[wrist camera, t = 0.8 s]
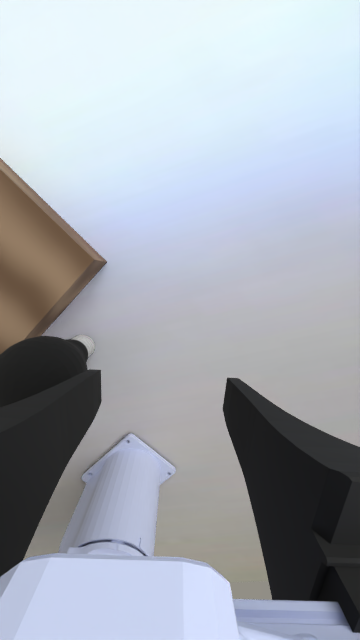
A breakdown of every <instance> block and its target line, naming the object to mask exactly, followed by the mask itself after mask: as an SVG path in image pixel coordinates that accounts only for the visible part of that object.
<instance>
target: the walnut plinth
mask: <svg viewBox="0 0 360 640" xmlns="http://www.w3.org/2000/svg"><path fill="white" fill-rule="evenodd" d="M106 263H107V261H106V260H105V259H103V258H102V257H101V256H100V255H99V254H98V253H97V252H96V251H95V250H94V249H93V248H92V247H91V246H90V245H89V244H88V243H87V242H86V241H85V240H84V239H83V238H82V237H81V236H80V235H79V234H78V233H77V232H76V231H75V230H74V229H73V228H72V227H71V226H70V225H69V224H67V223H66V222H65V221H64V220H63V219H62V218H61V217H60V216H59V215H58V214H57V213H56V212H55V211H54V210H53V209H52V208H51V207H50V206H49V205H48V204H47V203H46V202H45V201H44V200H43V199H42V198H41V197H40V196H39V195H38V194H37V193H36V192H35V191H34V190H33V189H31V188H30V187H29V186H28V185H27V184H26V183H25V182H24V181H23V180H22V179H21V178H20V177H19V176H18V175H17V174H16V173H15V172H14V171H13V170H12V169H11V168H10V167H9V166H8V165H7V164H6V163H5V162H4V161H3V160H2V159H1V158H0V354H2V353H3V352H4V351H5V350H6V349H8V348H9V347H10V346H12V345H14V344H16V343H18V342H20V341H22V340H25V339H29V338H33V337H38V336H41V335H42V334H43V333H44V332H45V331H46V329H47V328H48V327H49V326H50V325H51V324H52V323H53V322H54V321H55V319H56V318H57V317H58V316H59V315H60V314H61V313H62V312H63V310H64V309H65V308H66V307H67V306H68V305H69V304H70V303H71V302H72V300H73V299H74V298H75V297H76V296H77V295H78V294H79V293H80V292H81V290H82V289H83V288H84V287H85V286H86V285H87V284H88V283H89V282H90V280H91V279H92V278H93V277H94V276H95V275H96V274H97V273H98V272H99V270H100V269H101V268H102V267H103V266H104V265H105V264H106Z"/></svg>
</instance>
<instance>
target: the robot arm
mask: <svg viewBox="0 0 360 640" xmlns="http://www.w3.org/2000/svg"><path fill="white" fill-rule="evenodd" d="M100 404H101V370H87V371H85V372H82V373H80V374H78V375H76V376H74V377H72V378H70V379H68V380H66V381H64V382H62V383H60V384H58V385H55V386H53V387H51V388H49V389H47V390H44V391H42V392H40V393H38V394H35V395H33V396H30V397H28V398H25V399H23V400H20V401H17V402H15V403H12V404H9V405H6V406H3V407H0V640H360V447H358V446H355V445H353V444H350V443H348V442H345V441H343V440H341V439H338V438H336V437H334V436H331V435H329V434H327V433H325V432H323V431H321V430H319V429H317V428H315V427H312V426H311V425H309V424H307V423H305V422H303V421H301V420H299V419H298V418H296V417H294V416H292V415H290V414H289V413H287V412H285V411H284V410H282V409H281V408H279V407H278V406H276V405H275V404H273V403H272V402H270V401H269V400H267V399H266V398H264V397H263V396H262V395H260V394H259V393H258V392H256V391H255V390H254V389H252V388H251V387H250V386H248V385H247V384H245V383H244V382H243V381H241V380H240V379H238V378H227V383H226V390H225V397H224V404H223V412H224V417H225V421H226V426H227V429H228V432H229V435H230V437H231V440H232V443H233V446H234V449H235V451H236V454H237V457H238V460H239V463H240V465H241V468H242V471H243V475H244V478H245V482H246V485H247V489H248V493H249V497H250V501H251V505H252V509H253V513H254V517H255V522H256V526H257V530H258V534H259V539H260V543H261V548H262V552H263V557H264V561H265V566H266V570H267V575H268V580H269V585H270V590H271V595H272V600H255V599H233V598H232V593H231V588H230V583H229V582H228V581H227V580H226V579H225V578H224V577H223V576H222V575H221V574H220V573H219V572H217V571H216V570H215V569H214V568H212V567H211V566H210V565H209V564H208V563H205V562H201V561H196V560H192V559H187V558H183V557H156V556H154V545H155V533H156V522H157V510H158V498H159V487H160V484H162V483H163V482H164V481H166V480H167V479H168V478H169V477H171V476H172V475H173V474H174V473H175V467H174V466H173V465H171V464H170V463H169V462H168V461H166V460H165V459H164V458H163V457H161V456H160V455H159V454H158V453H156V452H155V451H154V450H153V449H151V448H150V447H149V446H148V445H146V444H145V443H144V442H142V441H141V440H140V439H139V438H137V437H136V436H135V435H134V434H128V435H127V436H126V437H125V438H123V439H122V440H121V441H120V442H119V443H118V444H117V445H116V446H114V447H113V448H112V449H111V450H110V451H109V452H108V453H106V454H105V455H104V456H103V457H102V458H101V459H100V460H99V461H97V462H96V463H95V464H94V465H93V466H92V467H91V468H89V469H88V470H87V471H86V472H85V473H84V474H83V475H82V480H83V481H84V482H86V486H85V488H84V490H83V493H82V495H81V497H80V499H79V502H78V504H77V506H76V509H75V511H74V513H73V515H72V518H71V520H70V522H69V525H68V527H67V529H66V531H65V534H64V536H63V538H62V541H61V544H60V547H59V551H58V553H53V554H46V555H40V556H33V557H28V558H27V559H25V560H23V558H24V556H25V554H26V551H27V549H28V547H29V545H30V542H31V540H32V538H33V535H34V533H35V531H36V529H37V526H38V524H39V522H40V520H41V518H42V515H43V513H44V511H45V509H46V507H47V505H48V502H49V500H50V498H51V496H52V494H53V492H54V490H55V488H56V486H57V483H58V481H59V479H60V477H61V475H62V473H63V471H64V469H65V467H66V466H67V464H68V462H69V460H70V458H71V457H72V455H73V454H74V452H75V450H76V449H77V447H78V445H79V444H80V442H81V440H82V439H83V437H84V435H85V434H86V432H87V430H88V428H89V427H90V425H91V423H92V422H93V420H94V418H95V416H96V414H97V411H98V409H99V407H100ZM127 440H129V441H127Z"/></svg>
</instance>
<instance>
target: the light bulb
mask: <svg viewBox="0 0 360 640" xmlns="http://www.w3.org/2000/svg"><path fill="white" fill-rule="evenodd" d="M94 350H95V344H94V342H93V341H92V339H91V338H90V337H88V336H85V335H78V336H75V337H74V338H72V339H68V340H64V339H61V338H58V337H50V336H38V337H33V338H29V339H25V340H22V341H20V342H18V343H16V344H14V345H12V346H10V347H9V348H8V349H6V350H5V351H4V352H3V353H2V354H0V407H3V406H6V405H9V404H12V403H15V402H17V401H20V400H23V399H25V398H28V397H30V396H33V395H35V394H38V393H40V392H42V391H44V390H47V389H49V388H51V387H53V386H55V385H58V384H60V383H62V382H64V381H66V380H68V379H70V378H72V377H74V376H76V375H78V374H80V373H82V372H85V371H87V365H86V362H87V359H88V357H89V356H91V355H92V354H93V352H94Z"/></svg>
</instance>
